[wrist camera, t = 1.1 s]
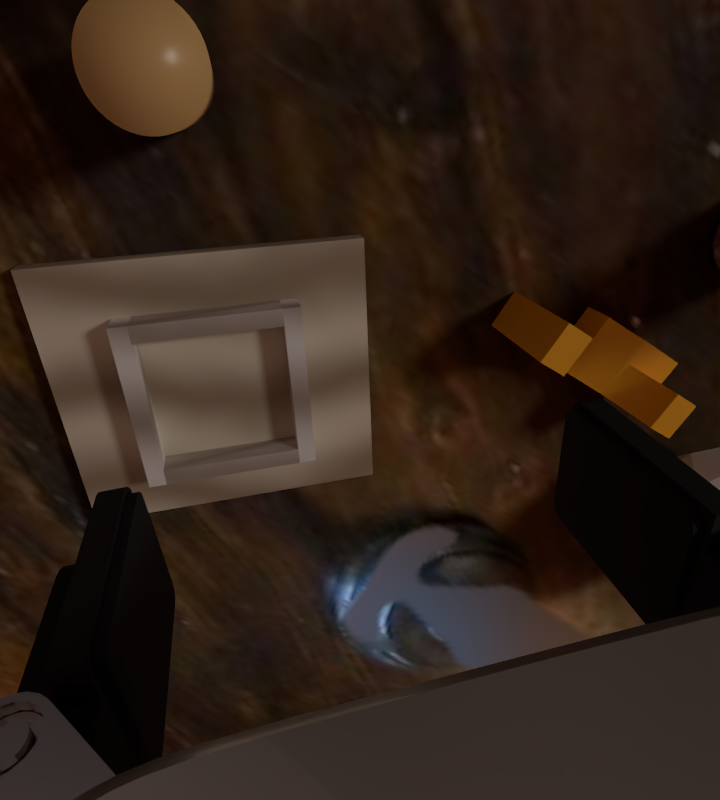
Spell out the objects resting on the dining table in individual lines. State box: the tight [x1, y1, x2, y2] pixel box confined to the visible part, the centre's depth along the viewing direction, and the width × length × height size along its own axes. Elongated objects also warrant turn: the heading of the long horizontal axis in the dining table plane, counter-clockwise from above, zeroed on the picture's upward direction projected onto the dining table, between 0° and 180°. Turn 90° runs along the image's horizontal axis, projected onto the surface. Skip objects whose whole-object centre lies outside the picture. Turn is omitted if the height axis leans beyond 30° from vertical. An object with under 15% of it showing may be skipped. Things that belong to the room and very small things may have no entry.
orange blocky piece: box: [492, 291, 696, 438], centre depth 35 cm, size 12×4×6 cm, turn 58°
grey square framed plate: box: [11, 235, 373, 513], centre depth 32 cm, size 16×18×3 cm
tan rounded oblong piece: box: [71, 0, 214, 136], centre depth 22 cm, size 4×4×8 cm
